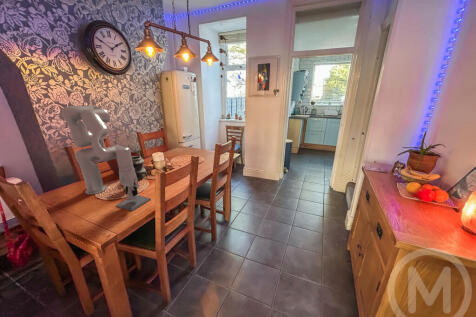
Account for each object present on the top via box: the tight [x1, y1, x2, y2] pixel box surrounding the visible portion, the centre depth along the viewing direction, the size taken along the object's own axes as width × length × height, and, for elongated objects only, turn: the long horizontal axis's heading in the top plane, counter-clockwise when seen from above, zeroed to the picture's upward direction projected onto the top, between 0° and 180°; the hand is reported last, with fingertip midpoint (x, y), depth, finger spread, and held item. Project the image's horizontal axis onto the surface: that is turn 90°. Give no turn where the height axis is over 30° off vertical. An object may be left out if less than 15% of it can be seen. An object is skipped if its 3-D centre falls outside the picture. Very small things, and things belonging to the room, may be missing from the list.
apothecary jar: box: [132, 155, 147, 180], centre depth 150 cm, size 12×12×18 cm
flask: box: [125, 187, 140, 200], centre depth 113 cm, size 7×7×10 cm
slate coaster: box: [115, 195, 152, 212], centre depth 116 cm, size 14×14×1 cm
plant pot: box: [106, 151, 140, 176], centre depth 159 cm, size 19×19×17 cm
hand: (132, 194), depth 114 cm, fingers closed on flask, 5 cm apart
